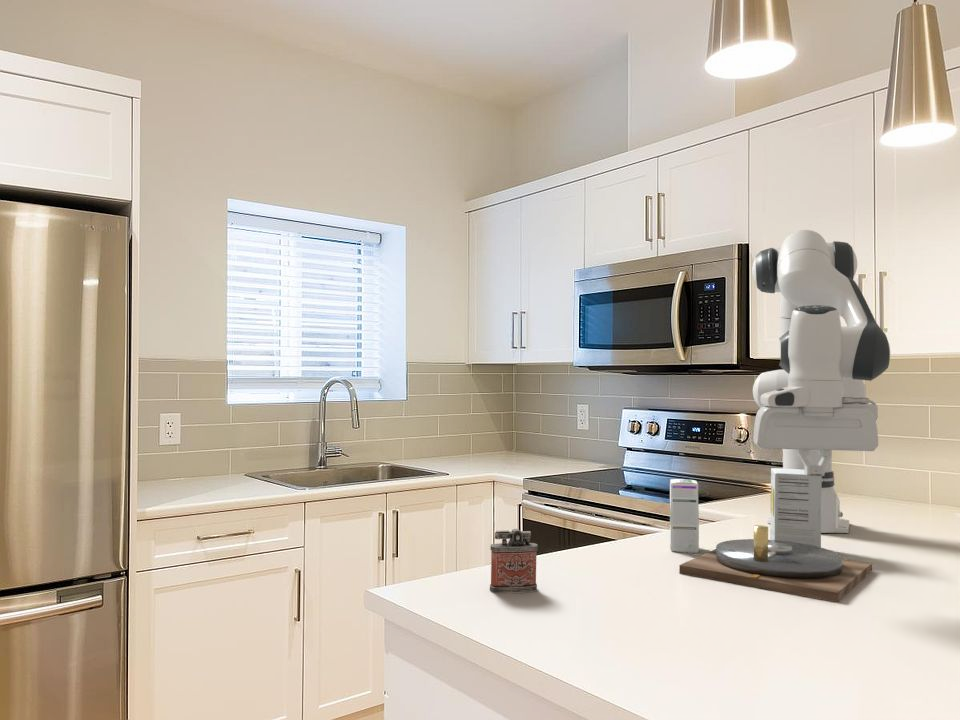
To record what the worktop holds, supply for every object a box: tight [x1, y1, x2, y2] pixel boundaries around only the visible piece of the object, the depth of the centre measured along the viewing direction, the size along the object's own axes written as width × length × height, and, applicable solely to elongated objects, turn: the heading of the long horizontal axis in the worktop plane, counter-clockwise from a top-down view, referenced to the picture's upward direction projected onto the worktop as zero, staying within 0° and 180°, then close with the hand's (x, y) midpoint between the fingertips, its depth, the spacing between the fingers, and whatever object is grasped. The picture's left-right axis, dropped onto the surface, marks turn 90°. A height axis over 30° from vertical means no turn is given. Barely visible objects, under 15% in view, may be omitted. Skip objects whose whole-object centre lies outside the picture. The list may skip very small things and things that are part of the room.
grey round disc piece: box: [715, 524, 844, 578], centre depth 141 cm, size 22×22×8 cm
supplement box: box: [769, 467, 822, 548], centre depth 160 cm, size 10×9×17 cm
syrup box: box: [669, 478, 700, 554], centre depth 159 cm, size 6×6×14 cm
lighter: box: [489, 528, 539, 594], centre depth 126 cm, size 8×3×10 cm, turn 102°
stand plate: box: [678, 548, 873, 603], centre depth 141 cm, size 27×27×2 cm
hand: (814, 475), depth 132 cm, fingers closed
